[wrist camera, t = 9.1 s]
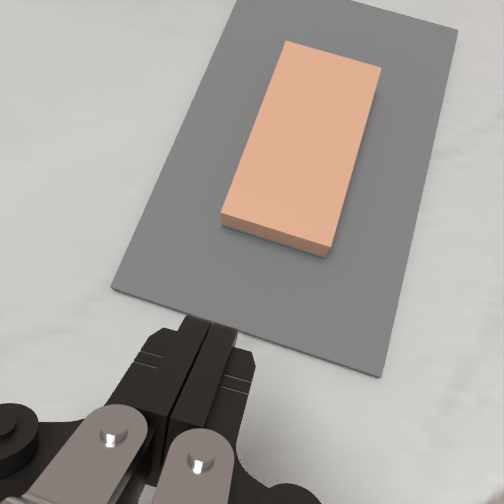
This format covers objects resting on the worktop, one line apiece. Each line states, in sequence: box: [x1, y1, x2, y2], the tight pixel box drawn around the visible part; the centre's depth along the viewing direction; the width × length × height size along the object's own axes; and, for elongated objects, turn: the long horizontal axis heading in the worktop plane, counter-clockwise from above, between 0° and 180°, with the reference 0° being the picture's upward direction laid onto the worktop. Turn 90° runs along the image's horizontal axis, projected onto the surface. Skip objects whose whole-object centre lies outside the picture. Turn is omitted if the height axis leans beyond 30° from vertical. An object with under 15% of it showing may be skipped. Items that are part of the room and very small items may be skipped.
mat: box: [110, 0, 458, 378], centre depth 27 cm, size 15×24×1 cm, turn 162°
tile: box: [221, 41, 381, 259], centre depth 26 cm, size 6×2×12 cm
